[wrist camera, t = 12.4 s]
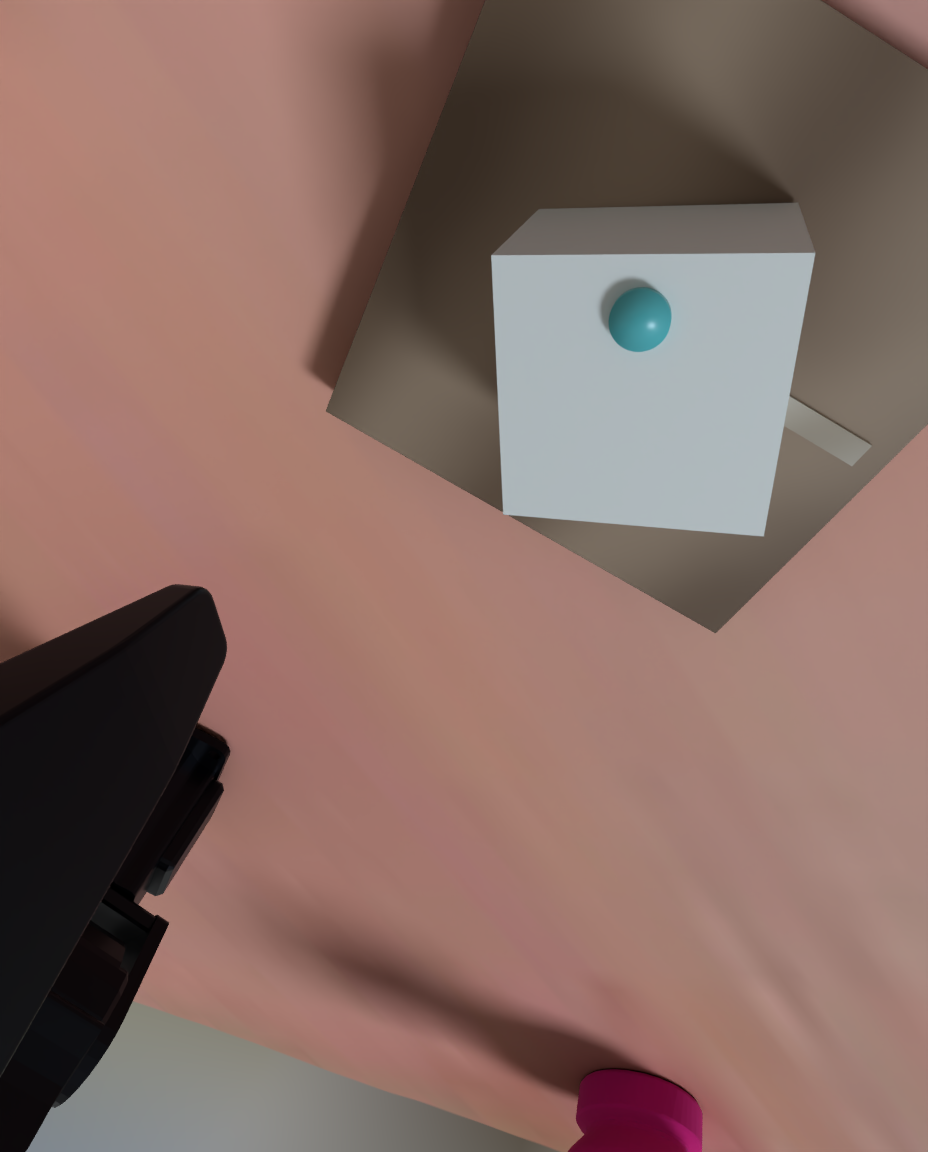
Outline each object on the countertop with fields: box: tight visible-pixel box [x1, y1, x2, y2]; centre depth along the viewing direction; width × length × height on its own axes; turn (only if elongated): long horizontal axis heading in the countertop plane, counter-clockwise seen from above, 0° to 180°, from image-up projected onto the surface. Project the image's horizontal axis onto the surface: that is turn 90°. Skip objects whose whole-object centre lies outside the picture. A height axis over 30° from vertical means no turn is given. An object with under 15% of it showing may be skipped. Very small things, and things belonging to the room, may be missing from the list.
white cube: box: [491, 203, 815, 536], centre depth 15 cm, size 5×5×4 cm
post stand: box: [326, 0, 928, 633], centre depth 16 cm, size 12×12×4 cm
